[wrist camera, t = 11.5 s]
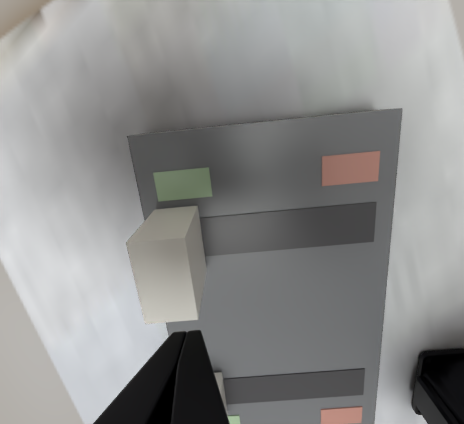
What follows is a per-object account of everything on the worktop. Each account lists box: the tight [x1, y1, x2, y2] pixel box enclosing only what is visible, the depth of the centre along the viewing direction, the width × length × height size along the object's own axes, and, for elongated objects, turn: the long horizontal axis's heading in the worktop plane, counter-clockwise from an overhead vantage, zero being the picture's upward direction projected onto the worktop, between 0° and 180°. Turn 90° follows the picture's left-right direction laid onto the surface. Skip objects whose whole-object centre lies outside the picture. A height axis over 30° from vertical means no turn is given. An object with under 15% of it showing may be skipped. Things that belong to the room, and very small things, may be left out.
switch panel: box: [127, 108, 402, 424], centre depth 19 cm, size 14×24×3 cm, turn 6°
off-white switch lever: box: [126, 206, 207, 324], centre depth 14 cm, size 2×4×4 cm, turn 6°
